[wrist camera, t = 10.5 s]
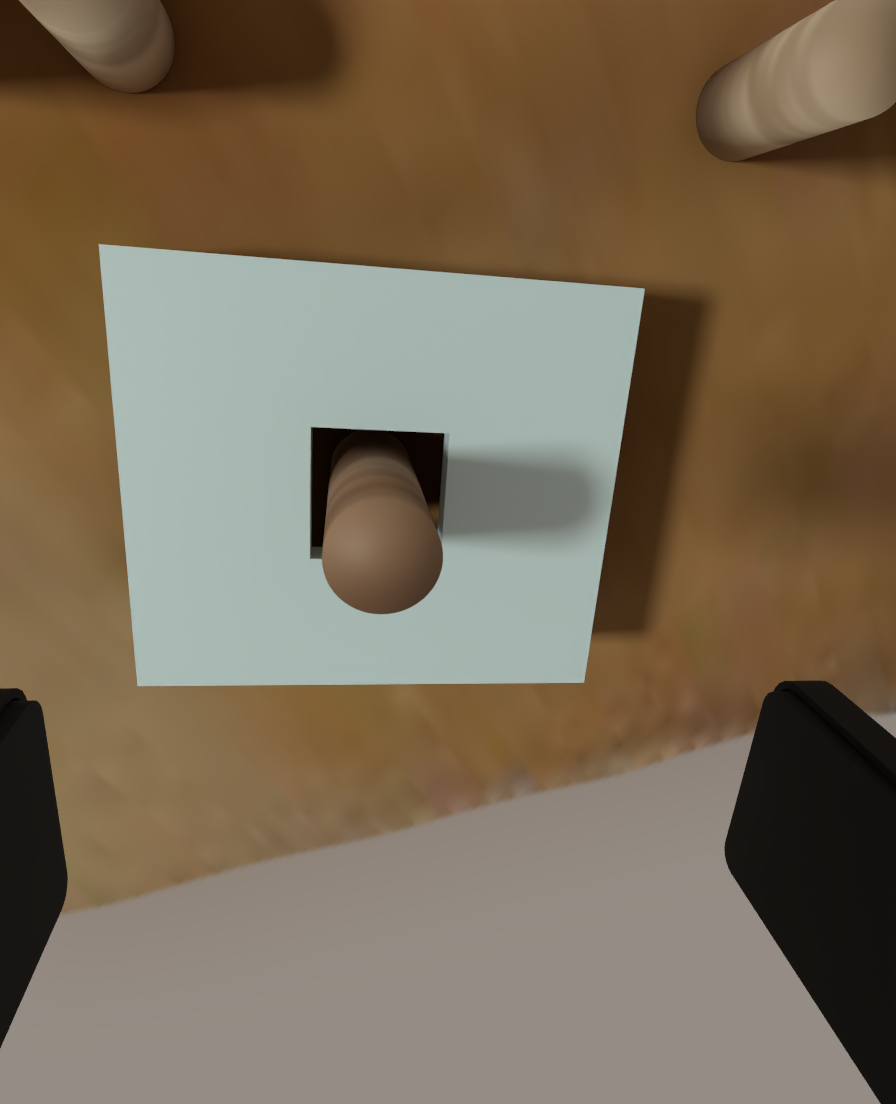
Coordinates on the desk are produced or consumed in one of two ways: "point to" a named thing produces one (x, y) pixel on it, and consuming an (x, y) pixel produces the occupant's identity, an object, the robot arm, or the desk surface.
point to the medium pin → (803, 81)
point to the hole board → (371, 404)
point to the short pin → (112, 38)
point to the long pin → (378, 527)
